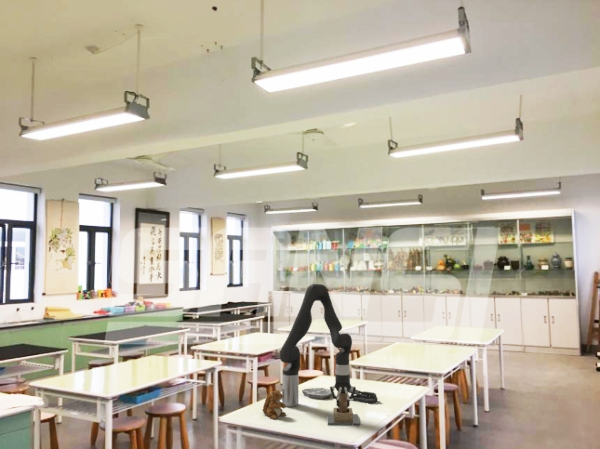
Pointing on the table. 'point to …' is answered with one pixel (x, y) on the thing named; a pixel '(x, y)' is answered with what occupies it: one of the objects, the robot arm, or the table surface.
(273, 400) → the stuffed squirrel
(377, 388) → the table surface
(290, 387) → the robot arm
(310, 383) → the table surface
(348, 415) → the well stand
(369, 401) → the zipper pull
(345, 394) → the walnut bar
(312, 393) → the brain slice
